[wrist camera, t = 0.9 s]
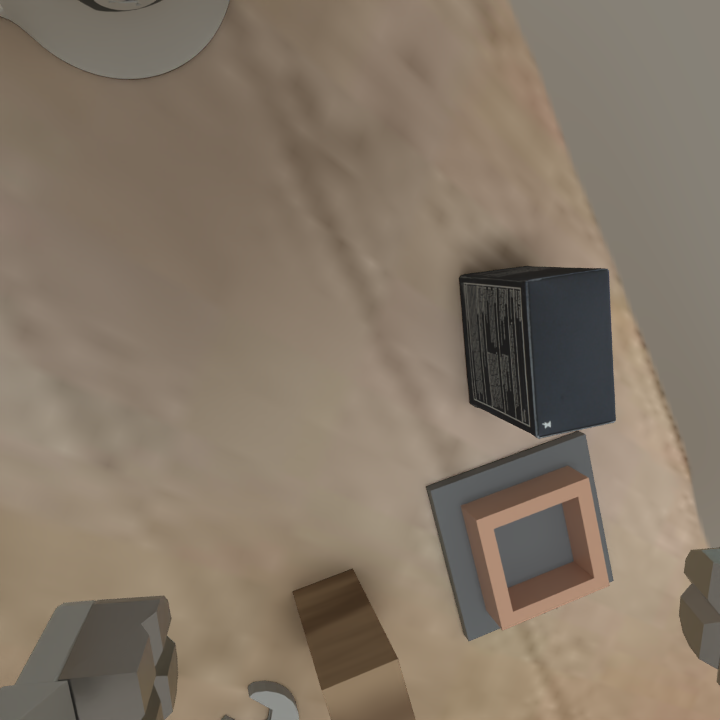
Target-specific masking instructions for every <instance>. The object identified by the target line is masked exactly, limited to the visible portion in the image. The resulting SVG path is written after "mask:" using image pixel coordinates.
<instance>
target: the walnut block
mask: <svg viewBox="0 0 720 720" xmlns="http://www.w3.org/2000/svg"><path fill="white" fill-rule="evenodd" d="M293 595H294V598H295V601H296V605H297V608H298V612H299V615H300V618H301V622H302V625H303V629H304V632H305V635H306V639H307V642H308V645H309V649H310V652H311V656H312V659H313V662H314V666H315V669H316V673H317V676H318V679H319V683H320V686H321V690H322V693H323V696H324V699H325V702H326V705H327V708H328V711H329V715H330V718H331V720H415V716H414V713H413V709H412V706H411V702H410V699H409V695H408V692H407V688H406V685H405V681H404V678H403V674H402V671H401V667H400V664H399V660H398V658H397V656H396V654H395V652H394V650H393V648H392V646H391V644H390V642H389V640H388V638H387V636H386V634H385V632H384V630H383V628H382V626H381V624H380V622H379V620H378V618H377V616H376V614H375V612H374V610H373V608H372V606H371V604H370V602H369V600H368V598H367V596H366V594H365V592H364V590H363V588H362V586H361V584H360V582H359V580H358V578H357V576H356V574H355V572H354V570H353V569H351V570H348V571H345V572H343V573H340V574H337V575H335V576H332V577H330V578H327V579H324V580H322V581H319V582H316V583H314V584H311V585H309V586H306V587H303V588H301V589H298V590H295V591H293Z"/></svg>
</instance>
